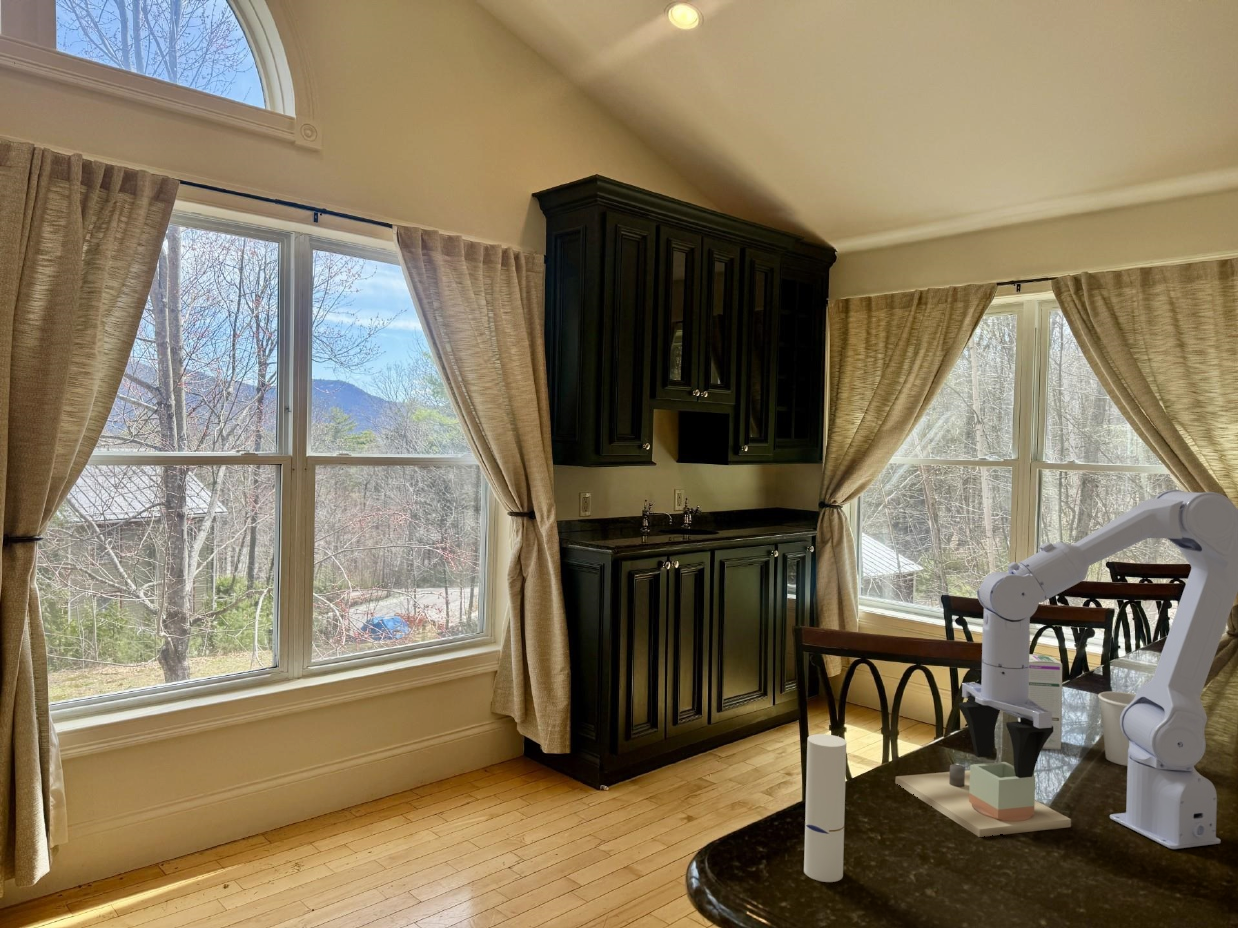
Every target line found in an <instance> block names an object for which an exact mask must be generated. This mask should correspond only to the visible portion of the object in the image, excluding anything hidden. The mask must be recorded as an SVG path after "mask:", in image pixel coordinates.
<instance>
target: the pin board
mask: <svg viewBox="0 0 1238 928" xmlns="http://www.w3.org/2000/svg"><path fill="white" fill-rule="evenodd" d="M894 782H895V784H896V785H897V784H898V785H897V786H899V785H900V786H901V787H900V786H899V787H900V788H902V789H903V788H904V790H906V791H907V792H908V793H909V794H912V795H913V794H914V795H913V796H915V797H916V798H917V797H918V798H917V799H919V800H921V801H922V802H924V803H925V804H927V805H928V806H930V807H931V806H932V808H933V809H935V810H936V811H938V812H939V813H941V814H943V815H944V816H946V817H948V819H950V820H952V821H953V822H955V823H956V824H958V825H959V826H961V827H963V828H965V829H966V830H968V831H969V832H970V833H973V835H975V836H977V837H978V838H982V837H984V836H985V837H990V836H991V837H993V836H1000V834H1003V835H1011V834H1019V833H1020V834H1021V833H1028V832H1037V831H1046V830H1057V829H1064V828H1071V827H1072V819H1071V818H1070V817H1068V816H1065V815H1063V814H1062V813H1060V812H1058V811H1057V810H1054V809H1052V808H1050V807H1049V806H1047V805H1046V804H1043V803H1042V802H1039V801H1038V800H1036V799H1035V806H1034V815H1032V816H1022V817H1012V818H1003V819H997V818H995V817H994V816H992V815H990V814H989V813H987V812H985V811H984V810H982V809H980V808H979V807H977V806H975V805H974V804H972V803H970V802H969V785H970V769H969V770H966V767H965V766H963V765H961V764H956V763H955V764H954V763H953V764H950V765H949V771H945V772H936V773H935V772H931V773H922V774H910V775H898V776H895V781H894ZM992 835H993V836H992ZM985 837H984V838H985Z"/></svg>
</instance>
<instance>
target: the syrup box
mask: <svg viewBox="0 0 1238 928" xmlns="http://www.w3.org/2000/svg"><path fill="white" fill-rule="evenodd" d="M1028 698H1029V699H1030V700H1032V701H1033V702H1035V703H1036V704H1038V705H1039V706H1041V707H1042V708H1044V709H1046V710H1048V711H1050V712H1052V726H1053V733H1052V734H1051V735H1050V737H1049V738H1048V739H1047V741H1046V742H1045V744H1044V746H1043V748H1042V749H1044V750H1045V749H1047V750H1061V749H1062V735H1063V734H1062V731H1063V729H1062V727H1063V726H1062V725H1063V724H1062V723H1063V722H1062V721H1063V720H1062V719H1063V711H1062V710H1063V663H1062V662H1061V661H1059V660H1057V658H1055V657H1053V656H1051V655H1046V654H1037V653H1035V654H1033V653H1032V654H1030V653H1029V696H1028ZM1017 721H1019V722H1020V718H1018V717H1017Z"/></svg>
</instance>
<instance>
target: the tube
mask: <svg viewBox="0 0 1238 928" xmlns="http://www.w3.org/2000/svg"><path fill="white" fill-rule="evenodd" d="M806 746H807V748H806V777H805V778H806V782H805V784H806V786H805V815H804V817H805V818H804V819H805V821H804V851H803V852H804V856H803V857H804V860H803V873H804V874H805V875H806V876H807V877H809V878H810V879H812V880H814V881H815V880H816V881H818V882H825V883H833V882H834V883H835V882H838V881H840V880H842V879H843V877H844V844H845V814H846V813H845V812H846V811H845V810H846V809H845V807H846V805H845V804H846V801H845V800H846V775H847V773H846V772H847V771H846V769H847V767H846V766H847V740H846V739H844V738H843V737H840V736H837V735H832V734H826V733H816V734H812V735H811V734H810V735H809V736H808V737H807V745H806Z"/></svg>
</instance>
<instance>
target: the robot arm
mask: <svg viewBox="0 0 1238 928" xmlns="http://www.w3.org/2000/svg"><path fill="white" fill-rule="evenodd" d="M1146 539H1166V540H1168V541H1169V542H1171V543H1172V544H1173V545H1175V546H1176V547H1177V548H1178V549H1179V551H1180V552H1181V554H1182V555H1183V557H1184V558H1185V559H1186V561H1187V562H1188V564H1189V565H1190V567H1191V568H1190V572H1189V575H1188V577H1187V581H1186V583H1185V586H1184V588H1183V592H1182V595H1181V597H1180V600H1179V603H1178V606H1177V609H1176V611H1175V614H1174V617H1173V619H1172V622H1171V625H1170V627H1169V628H1170V629H1169V631H1168V635H1167V636H1166V640H1165V642H1164V645H1163V648H1162V651H1161V653H1160V657H1159V659H1158V662H1157V666H1156V667H1155V671H1154V674H1153V676H1152V679H1150V680H1149V681H1148V682H1145V683H1143V685H1141V686H1139V688H1137V690H1136V693H1135V694H1136V696H1135V698H1134V700H1133V701H1132V702H1131V703H1130V704H1129V705H1127V706H1126V707H1125V708H1124V710H1123V711H1122V713H1121V716H1120V727H1121V730H1122V733H1123V734H1124V736H1125V737H1126V738H1127V739H1128V740H1129V749H1128V766H1127V768H1126V769H1127V773H1126V807H1125V808H1126V809H1125V810H1126V811H1125V812H1121V813H1120V812H1119V813H1113V814H1110V815H1109V818H1110V819H1111V820H1113V821H1115V822H1116V823H1119V824H1121V825H1122V826H1125V827H1127V828H1128V829H1131V830H1133V832H1134V831H1135V832H1137V833H1138V834H1141V835H1142V836H1145V837H1146V838H1148V839H1150V840H1152V841H1155V842H1156V843H1158V844H1161V845H1162V846H1164V847H1167V848H1168V849H1171V850H1178V849H1184V848H1185V849H1186V848H1193V847H1194V848H1195V847H1201V846H1208V845H1210V846H1211V845H1216V844H1221V843H1222V842H1221V839H1220V838H1219V837H1217V813H1218V812H1217V810H1218V809H1217V806H1218V796H1217V790H1216V788H1215V785H1214V784H1213V782H1212V781H1211V780H1209V779H1208V778H1207V777H1204V776H1203V775H1201V774H1200V773H1199V772H1198V771H1197V770H1196V768H1195V765H1197V763H1199V762H1200V761H1201V760H1202V758H1203V756H1204V755H1205V753H1206V747H1207V745H1206V744H1207V742H1206V738H1205V728H1206V724H1207V721H1208V716H1207V713H1206V710H1205V707H1204V706H1203V703H1202V700H1201V695H1202V694H1203V689H1204V687H1205V684H1206V681H1207V679H1208V675H1209V673H1210V670H1211V667H1212V665H1213V662H1214V659H1215V657H1216V654H1217V651H1218V648H1219V645H1220V642H1221V639H1222V637H1223V634H1224V631H1225V629H1226V626H1227V623H1228V620H1229V617H1230V614H1231V611H1232V608H1233V607H1234V604H1235V600H1236V597H1237V595H1238V507H1236V505H1235V504H1234V503H1233V501H1231V499H1229V497H1227V496H1225V495H1223V494H1221V493H1219V492H1216V491H1215V492H1213V491H1205V492H1198V491H1197V492H1195V491H1183V490H1178V489H1172V490H1171V489H1170V490H1165V491H1163V492H1161V493H1158V494H1157V495H1156V496H1155V497H1151V498H1148V499H1145V500H1143V501H1141V502H1140V503H1138V504H1137V505H1136V506H1134V507H1132V508H1131V509H1129V510H1128V511H1126V512H1125V513H1123V514H1121V515H1119V516H1118V517H1116V518H1115V519H1113V520H1111V521H1109V522H1108V523H1106V524H1105V525H1103V526H1102V527H1100V528H1098V529H1096V530H1095V531H1093V532H1091V533H1090V534H1088V535H1086V536H1085V537H1083V538H1081V539H1080V540H1077V541H1076V542H1075V543H1073V544H1069V543H1066V542H1061V541H1057V542H1055V543H1051V542H1049V541H1046V542H1045V543H1043V544H1041V545H1039V547H1038V548H1039V549H1040V551H1038V552H1036V553H1034V554H1033V555H1031V556H1029V557H1027V558H1025V559H1023V560H1020V561H1019V562H1018V563H1017V562H1015V561H1012V562H1010V563H1009V564H1007V568H1008V572H1007V571H999V570H998V571H993V572H991V573H990V574H988V575H987V576H985V577H984V578H983V580H982V582H981V583H980V585H979V589H977V590H976V596H977V599H978V601H979V603H980V605H981V606H982V607H983V618H982V619H983V620H982V621H983V622H982V623H983V624H982V625H983V626H982V637H981V638H982V640H981V641H982V642H981V644H982V645H981V650H982V651H981V653H982V654H981V683H977V682H962V685H961V690H962V693H961V697H962V698H964V699H967V700H966V701H962V702H959V703H958V708H959V710H960V712H961V715H962V716H963V718H964V720H965V722H966V724H967V728H968V731H969V735H970V737H971V742H972V743H971V744H972V746H973V751H974V754H975V757H977V758H987V757H992V754H993V751H994V743H995V742H994V741H995V732H996V731H995V729H996V726H997V722H998V718H999V715H1000V713H1001V712H1004V713H1005V714H1007V715H1009V716H1012V717H1016V718H1017V719H1018V718H1020V722H1019V721H1018V720H1017V721H1007V722H1006V723H1005V725H1006V728H1007V731H1008V734H1009V736H1010V740H1011V746H1012V751H1013V766H1014V771H1015V775H1016V777H1018V778H1027V777H1032V776H1034V772H1035V768H1036V765H1037V763H1038V762H1037V761H1038V759H1039V757H1040V754H1041V751H1042V749H1043V746H1044V744H1045V742H1046V741H1047V739H1048V738H1049V737H1050V735H1051V734H1052V733H1053V726H1052V712H1050V711H1048V710H1046V709H1044V708H1042V707H1041V706H1039V705H1038V704H1036V703H1035V702H1033V701H1032V700H1030V699H1029V698H1028V696H1029V654H1030V651H1031V650H1030V649H1031V648H1030V647H1031V645H1030V643H1031V631H1030V627H1031V626H1030V625H1031V623H1030V622H1031V621H1030V620H1031V617H1032V616H1033V615H1034V614H1035V613H1036V611H1037V609H1038V607H1039V605H1040V604H1041V603H1043V602H1045V601H1048V600H1049V599H1051V598H1052V597H1055V596H1057V595H1058V594H1060V593H1062V592H1064V591H1065V590H1068V589H1070V588H1071V587H1074V586H1075V585H1077V584H1079V583H1080V582H1083V581H1085V579H1086V578H1087V576H1088V572H1089V568H1090V566H1092V565H1095V564H1096V563H1099V562H1100V561H1103V560H1105V559H1107V558H1109V557H1111V556H1114V555H1115V554H1117V553H1120V552H1121V551H1123V550H1126V549H1128V548H1130V547H1132V546H1134V545H1136V544H1139V543H1140V542H1142V541H1144V540H1146Z"/></svg>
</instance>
